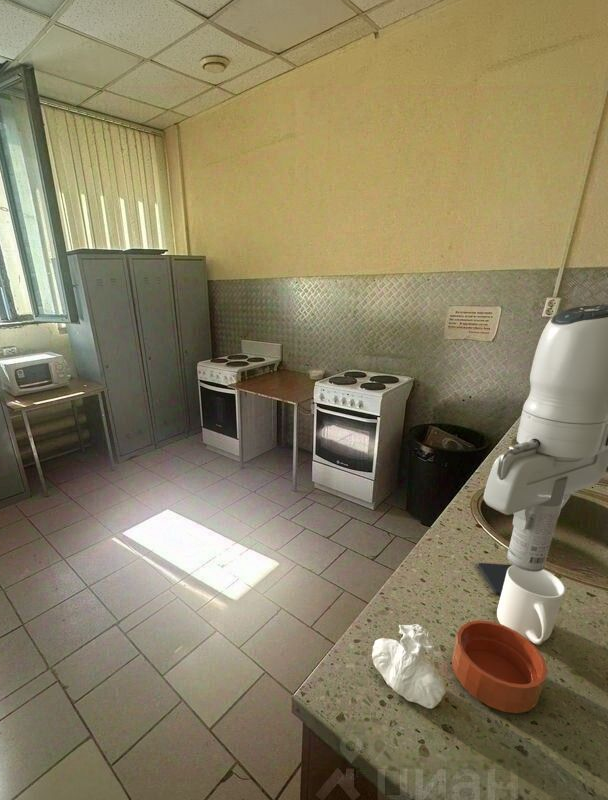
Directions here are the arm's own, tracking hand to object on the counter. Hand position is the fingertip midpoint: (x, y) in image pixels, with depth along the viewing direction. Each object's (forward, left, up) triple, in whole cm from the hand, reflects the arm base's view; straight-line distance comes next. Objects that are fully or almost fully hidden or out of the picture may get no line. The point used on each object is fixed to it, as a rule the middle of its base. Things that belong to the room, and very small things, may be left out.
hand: (535, 522), depth 57 cm
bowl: (+2, +3, -28) cm, 29 cm away
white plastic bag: (+16, +5, -29) cm, 33 cm away
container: (0, 0, -7) cm, 7 cm away
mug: (-8, -7, -29) cm, 30 cm away
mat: (-11, -21, -28) cm, 37 cm away
